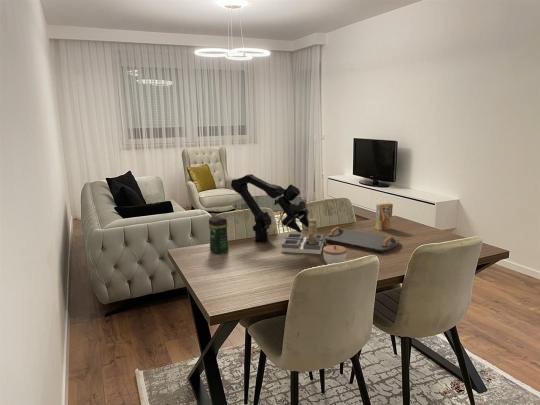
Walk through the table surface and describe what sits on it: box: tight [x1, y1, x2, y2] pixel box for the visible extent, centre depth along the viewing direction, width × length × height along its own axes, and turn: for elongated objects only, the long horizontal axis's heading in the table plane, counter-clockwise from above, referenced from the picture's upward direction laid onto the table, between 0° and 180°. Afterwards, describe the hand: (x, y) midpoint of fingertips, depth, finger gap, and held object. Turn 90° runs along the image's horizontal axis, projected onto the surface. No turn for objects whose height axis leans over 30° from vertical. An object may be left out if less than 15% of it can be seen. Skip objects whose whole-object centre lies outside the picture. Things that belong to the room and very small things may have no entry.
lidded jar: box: [322, 244, 347, 265], centre depth 193 cm, size 11×11×9 cm
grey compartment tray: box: [280, 232, 325, 255], centre depth 219 cm, size 20×20×4 cm
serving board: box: [324, 226, 400, 254], centre depth 224 cm, size 39×23×6 cm, turn 52°
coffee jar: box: [208, 215, 229, 255], centre depth 211 cm, size 10×8×19 cm
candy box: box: [375, 202, 394, 231], centre depth 248 cm, size 9×4×15 cm, turn 111°
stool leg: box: [308, 218, 318, 245], centre depth 211 cm, size 4×4×14 cm
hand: (305, 229), depth 213 cm, fingers open, 9 cm apart
